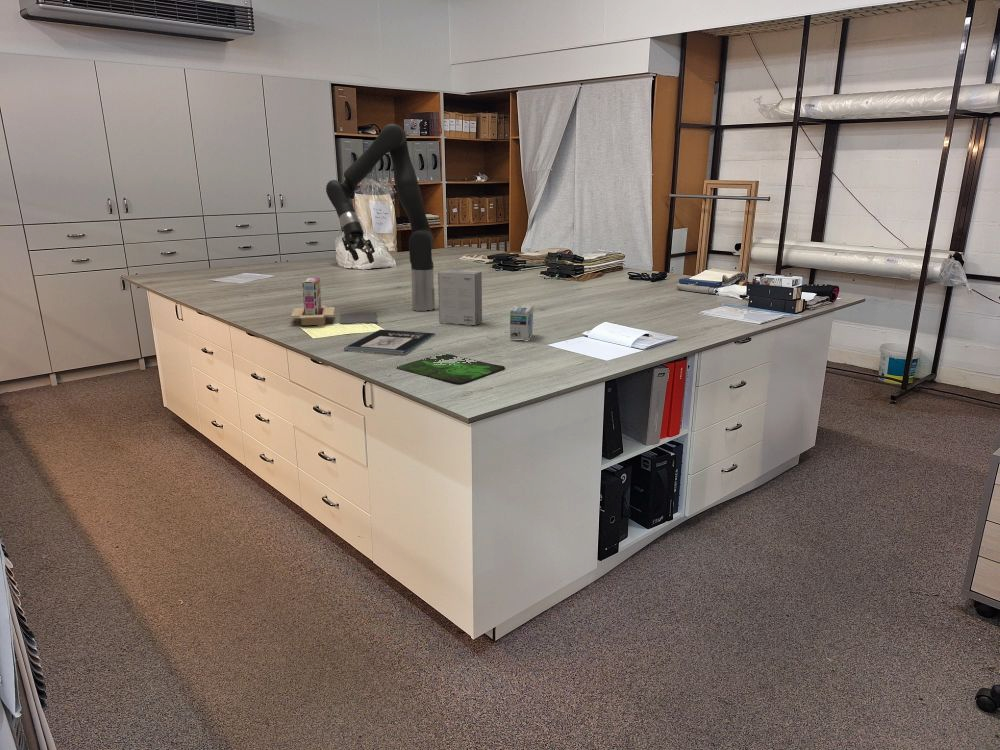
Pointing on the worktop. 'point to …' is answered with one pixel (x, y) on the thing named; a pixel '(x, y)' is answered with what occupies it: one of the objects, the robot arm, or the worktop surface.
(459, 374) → the mouse mat
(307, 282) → the candy bar box
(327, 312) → the carton
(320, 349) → the worktop surface
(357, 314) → the mat
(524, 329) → the light bulb box
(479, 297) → the hard drive box
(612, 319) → the worktop surface
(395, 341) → the sketchbook
